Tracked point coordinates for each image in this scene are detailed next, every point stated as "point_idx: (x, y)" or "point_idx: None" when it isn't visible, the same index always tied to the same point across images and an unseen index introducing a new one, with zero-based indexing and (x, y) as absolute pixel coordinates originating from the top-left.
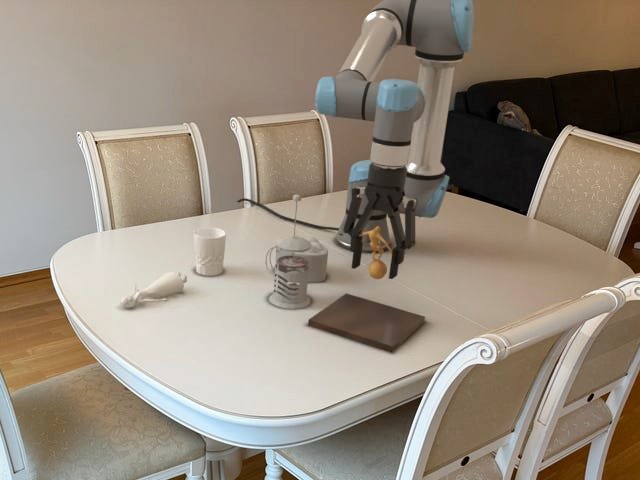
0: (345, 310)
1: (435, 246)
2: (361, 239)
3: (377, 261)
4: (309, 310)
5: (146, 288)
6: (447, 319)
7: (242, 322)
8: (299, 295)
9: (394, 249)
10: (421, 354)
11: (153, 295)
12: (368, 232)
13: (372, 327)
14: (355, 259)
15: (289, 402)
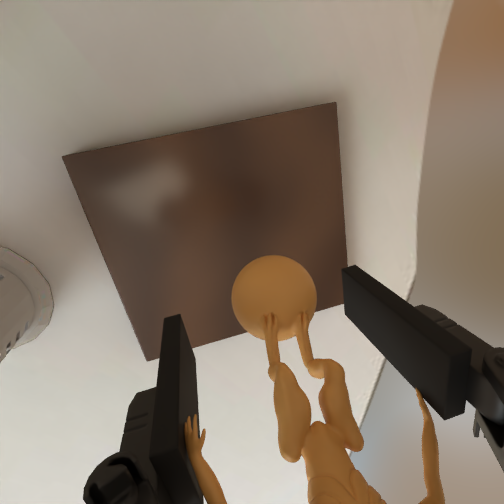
0: (164, 258)
1: None
2: (186, 457)
3: (284, 327)
4: (78, 298)
5: None
6: (367, 22)
7: (50, 446)
8: (22, 324)
9: (453, 416)
10: (387, 253)
11: None
12: None
13: None
14: (196, 393)
15: (307, 487)
